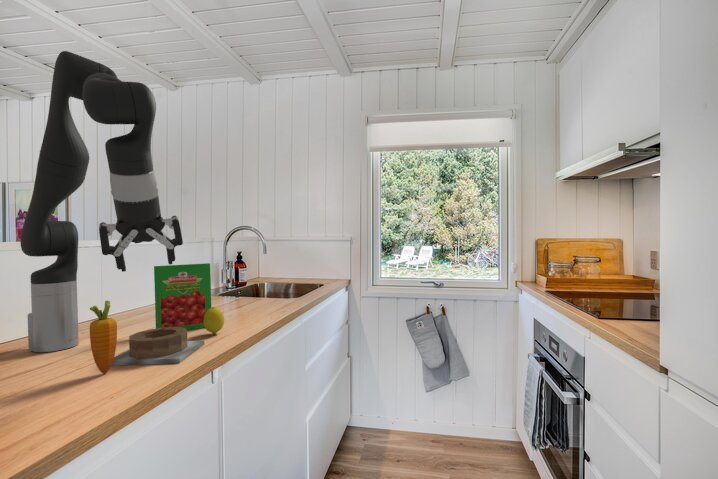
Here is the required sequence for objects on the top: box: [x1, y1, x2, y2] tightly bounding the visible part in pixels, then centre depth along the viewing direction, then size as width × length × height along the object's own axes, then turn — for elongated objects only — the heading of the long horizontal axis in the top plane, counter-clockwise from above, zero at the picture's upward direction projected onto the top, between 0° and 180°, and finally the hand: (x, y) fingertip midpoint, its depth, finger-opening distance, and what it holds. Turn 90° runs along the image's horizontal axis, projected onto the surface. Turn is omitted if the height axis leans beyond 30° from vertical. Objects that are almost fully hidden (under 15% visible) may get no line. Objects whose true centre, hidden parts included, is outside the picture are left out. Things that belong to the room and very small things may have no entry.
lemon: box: [204, 306, 225, 335], centre depth 104 cm, size 6×6×8 cm
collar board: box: [111, 327, 205, 367], centre depth 87 cm, size 16×14×5 cm
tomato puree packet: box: [153, 262, 212, 331], centre depth 109 cm, size 15×1×20 cm, turn 118°
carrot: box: [89, 299, 118, 375], centre depth 74 cm, size 5×5×15 cm
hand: (147, 266), depth 76 cm, fingers open, 8 cm apart
